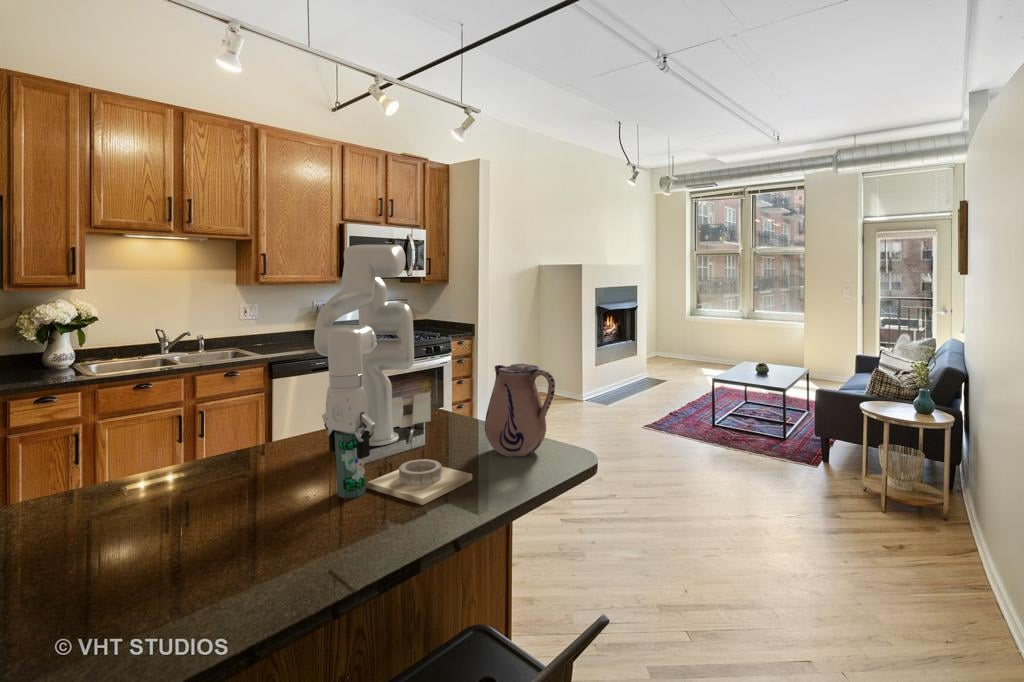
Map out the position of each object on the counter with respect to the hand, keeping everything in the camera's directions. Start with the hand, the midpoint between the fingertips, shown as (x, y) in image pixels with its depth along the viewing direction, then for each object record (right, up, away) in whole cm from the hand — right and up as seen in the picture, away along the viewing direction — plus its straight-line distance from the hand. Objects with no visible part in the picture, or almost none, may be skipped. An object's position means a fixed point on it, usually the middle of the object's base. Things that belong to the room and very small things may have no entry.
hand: (349, 453), depth 130 cm
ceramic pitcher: (+41, -6, +30) cm, 51 cm away
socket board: (+16, -9, +7) cm, 19 cm away
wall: (+2, -2, +62) cm, 63 cm away
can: (0, -10, +2) cm, 10 cm away
